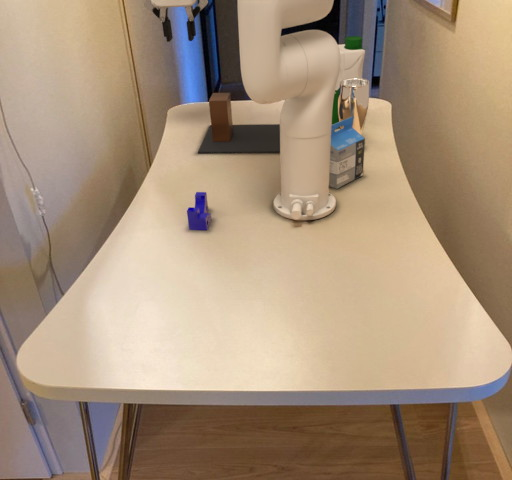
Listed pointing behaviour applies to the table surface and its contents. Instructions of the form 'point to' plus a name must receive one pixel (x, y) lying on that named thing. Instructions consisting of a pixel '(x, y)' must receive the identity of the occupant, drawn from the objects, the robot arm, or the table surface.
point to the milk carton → (348, 67)
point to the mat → (245, 140)
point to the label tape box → (345, 154)
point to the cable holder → (199, 213)
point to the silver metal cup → (353, 101)
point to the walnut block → (221, 117)
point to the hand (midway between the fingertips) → (180, 39)
